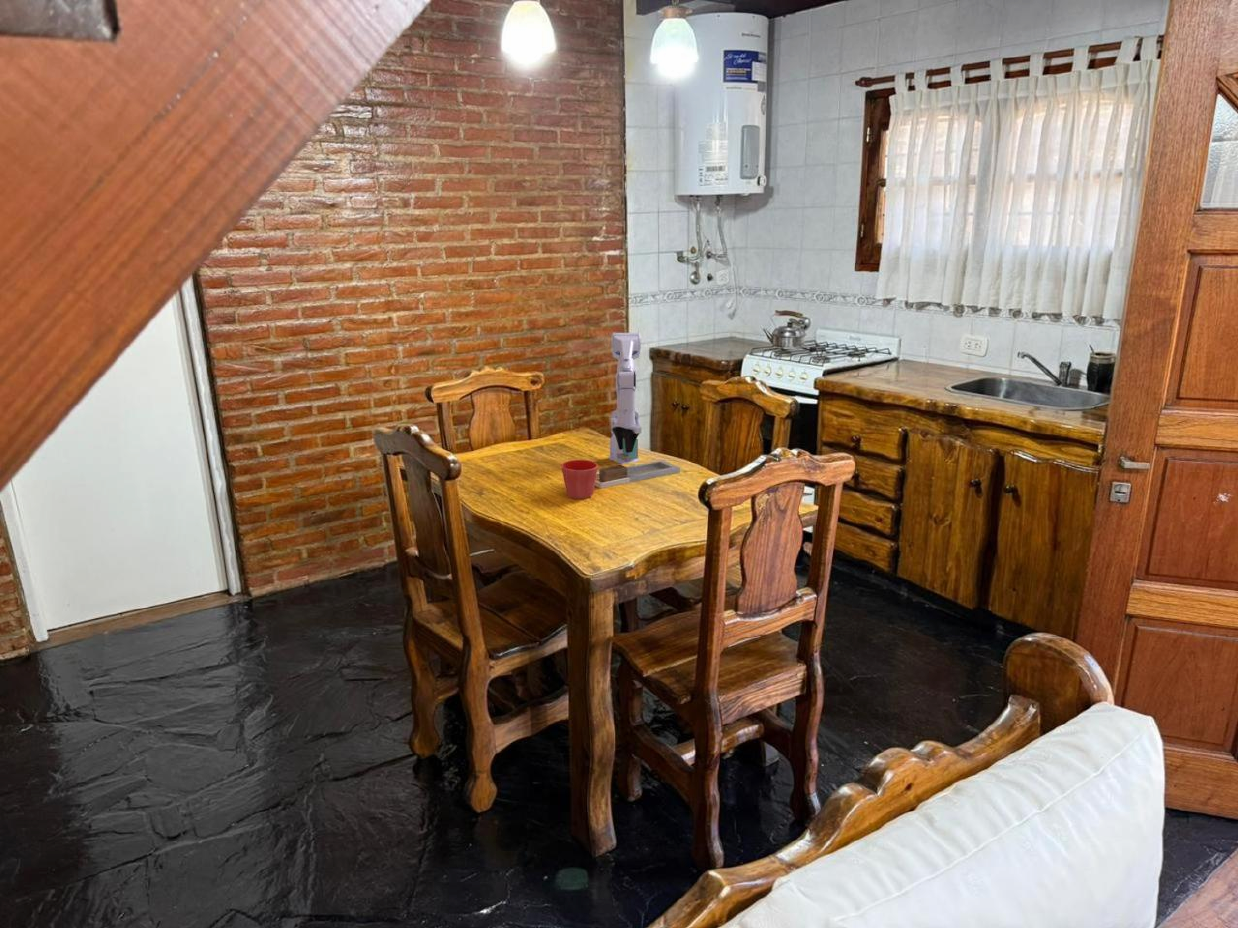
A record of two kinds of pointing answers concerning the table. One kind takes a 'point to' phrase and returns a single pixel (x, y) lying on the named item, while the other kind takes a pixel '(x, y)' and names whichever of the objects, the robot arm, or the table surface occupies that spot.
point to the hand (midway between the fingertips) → (625, 450)
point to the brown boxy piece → (607, 474)
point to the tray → (611, 482)
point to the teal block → (630, 455)
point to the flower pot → (579, 478)
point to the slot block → (651, 470)
